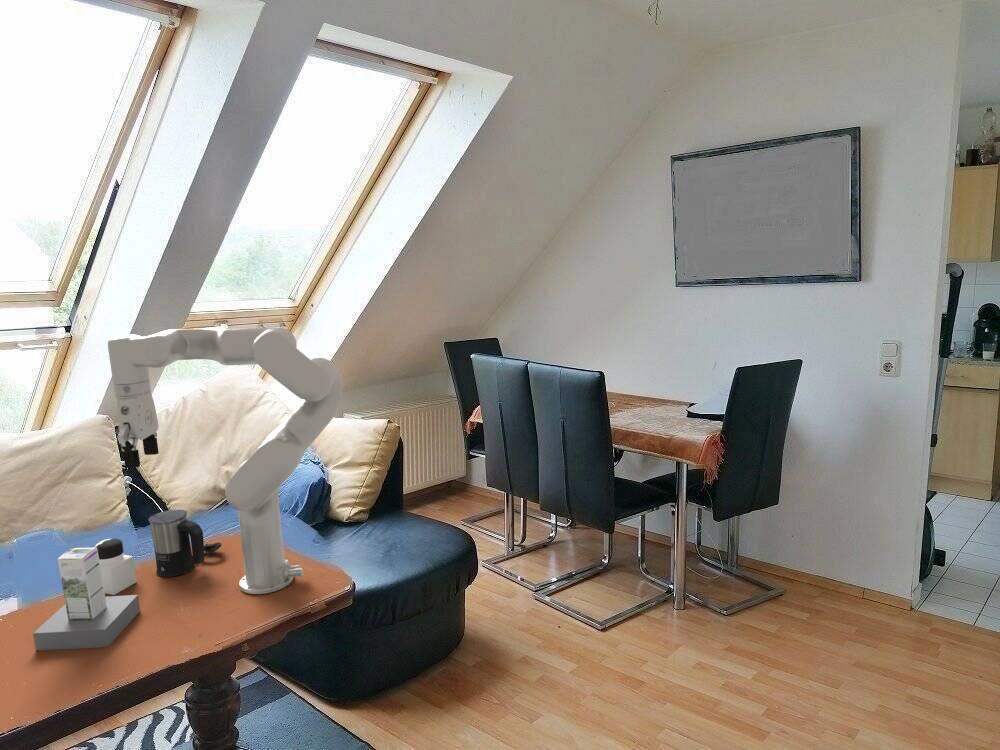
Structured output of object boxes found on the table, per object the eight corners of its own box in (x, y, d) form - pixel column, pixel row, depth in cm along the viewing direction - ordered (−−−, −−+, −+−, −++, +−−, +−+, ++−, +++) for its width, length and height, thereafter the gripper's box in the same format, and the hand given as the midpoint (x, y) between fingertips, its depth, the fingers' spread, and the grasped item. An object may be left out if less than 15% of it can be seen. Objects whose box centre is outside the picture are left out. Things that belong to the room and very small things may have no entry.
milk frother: (149, 578, 186) (141, 523, 183) (176, 551, 202) (169, 500, 199) (205, 576, 186) (198, 521, 183) (228, 549, 202) (221, 498, 199)
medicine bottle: (137, 582, 184) (130, 537, 182) (114, 595, 178) (107, 549, 175) (115, 579, 187) (108, 534, 184) (91, 592, 180) (84, 546, 178)
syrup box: (108, 606, 164) (98, 545, 161) (92, 620, 158) (82, 557, 155) (83, 607, 164) (73, 546, 161) (66, 620, 158) (56, 558, 156)
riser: (140, 610, 170) (137, 594, 169) (108, 646, 155) (105, 629, 154) (74, 614, 169) (71, 598, 169) (35, 650, 155) (32, 633, 154)
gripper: (131, 396, 160) (142, 471, 164) (164, 380, 177) (173, 449, 181) (96, 398, 160) (108, 473, 164) (133, 382, 177) (142, 450, 181)
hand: (142, 460), depth 172 cm, fingers open, 9 cm apart
